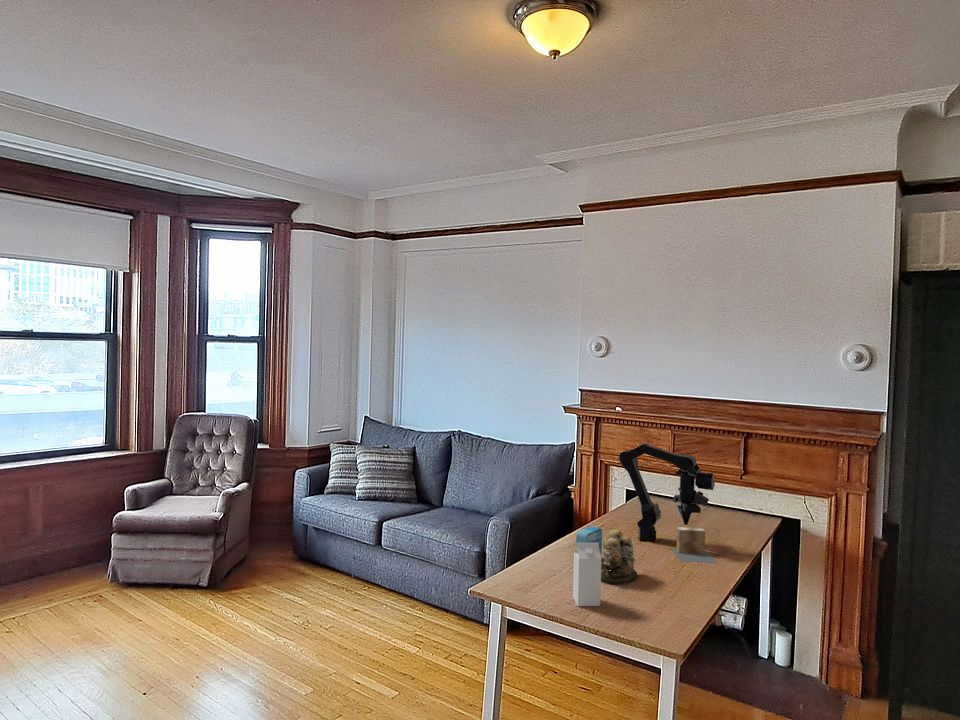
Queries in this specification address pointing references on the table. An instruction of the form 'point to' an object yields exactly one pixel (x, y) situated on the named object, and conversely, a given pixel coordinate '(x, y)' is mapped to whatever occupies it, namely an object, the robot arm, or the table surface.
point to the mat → (694, 557)
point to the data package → (590, 536)
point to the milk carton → (587, 574)
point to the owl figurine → (618, 559)
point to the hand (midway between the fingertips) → (685, 524)
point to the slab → (690, 540)
